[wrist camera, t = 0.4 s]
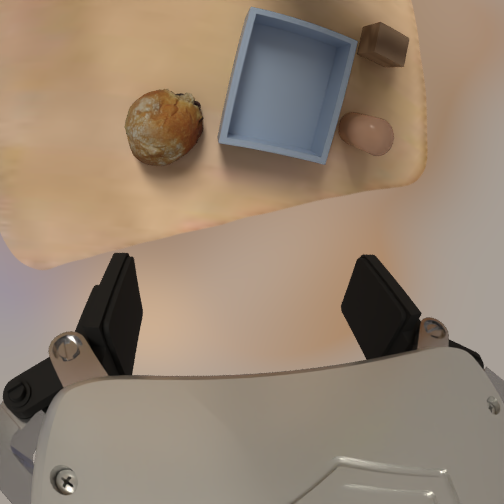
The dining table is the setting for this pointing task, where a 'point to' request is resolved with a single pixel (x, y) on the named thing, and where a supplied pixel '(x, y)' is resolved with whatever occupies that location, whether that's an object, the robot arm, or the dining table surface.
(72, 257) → the dining table surface
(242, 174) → the dining table surface
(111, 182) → the dining table surface
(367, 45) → the walnut cube
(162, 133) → the bread roll
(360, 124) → the terracotta cylinder
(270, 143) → the tote
